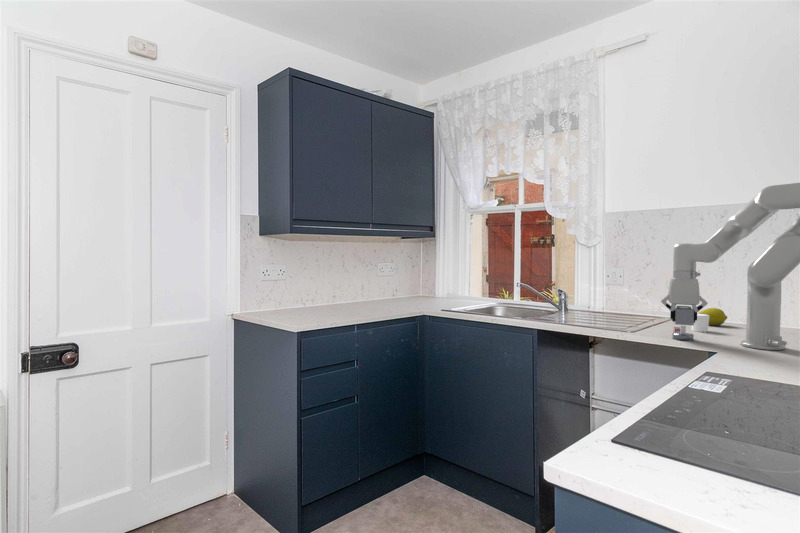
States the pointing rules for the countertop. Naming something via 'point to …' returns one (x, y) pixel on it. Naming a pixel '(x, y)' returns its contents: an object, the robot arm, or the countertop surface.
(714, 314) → the lemon
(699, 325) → the white cup
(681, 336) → the toy boat
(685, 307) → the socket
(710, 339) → the countertop surface
